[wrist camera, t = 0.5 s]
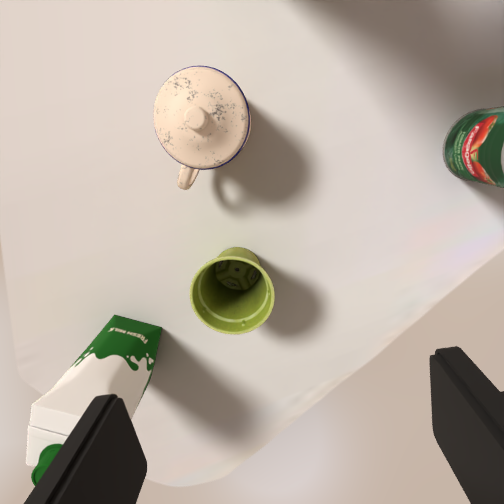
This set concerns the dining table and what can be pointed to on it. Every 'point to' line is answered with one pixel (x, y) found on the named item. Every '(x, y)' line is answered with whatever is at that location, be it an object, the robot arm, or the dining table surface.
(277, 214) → the dining table surface
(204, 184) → the dining table surface
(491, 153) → the canned tomato
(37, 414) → the milk carton
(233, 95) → the teacup with lid
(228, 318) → the plant pot
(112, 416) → the robot arm
